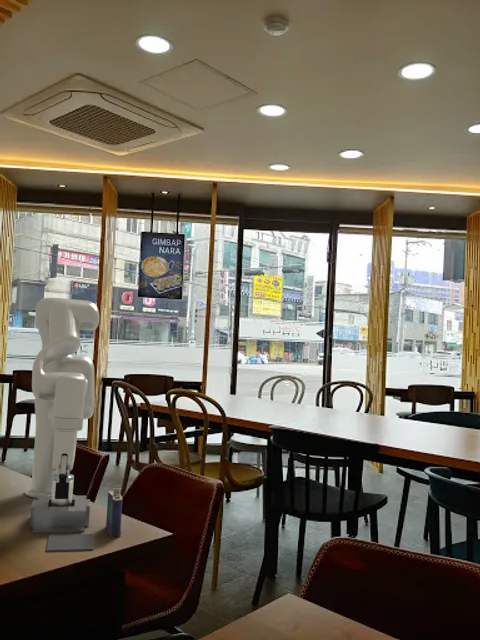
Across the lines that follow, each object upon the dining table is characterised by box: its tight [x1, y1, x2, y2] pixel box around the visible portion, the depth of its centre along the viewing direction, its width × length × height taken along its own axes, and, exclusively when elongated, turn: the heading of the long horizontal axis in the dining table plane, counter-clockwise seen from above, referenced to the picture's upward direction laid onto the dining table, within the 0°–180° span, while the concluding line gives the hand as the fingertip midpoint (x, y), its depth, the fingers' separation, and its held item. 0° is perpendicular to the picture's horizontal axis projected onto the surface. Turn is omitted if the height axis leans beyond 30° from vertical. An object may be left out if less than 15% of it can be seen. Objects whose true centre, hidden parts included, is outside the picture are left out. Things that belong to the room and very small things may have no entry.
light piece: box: [51, 473, 75, 507], centre depth 142 cm, size 5×5×11 cm
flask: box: [105, 487, 123, 539], centre depth 138 cm, size 9×3×11 cm, turn 22°
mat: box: [45, 533, 94, 553], centre depth 128 cm, size 10×10×1 cm
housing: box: [29, 495, 91, 534], centre depth 142 cm, size 14×14×5 cm
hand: (62, 494), depth 142 cm, fingers closed on light piece, 5 cm apart
